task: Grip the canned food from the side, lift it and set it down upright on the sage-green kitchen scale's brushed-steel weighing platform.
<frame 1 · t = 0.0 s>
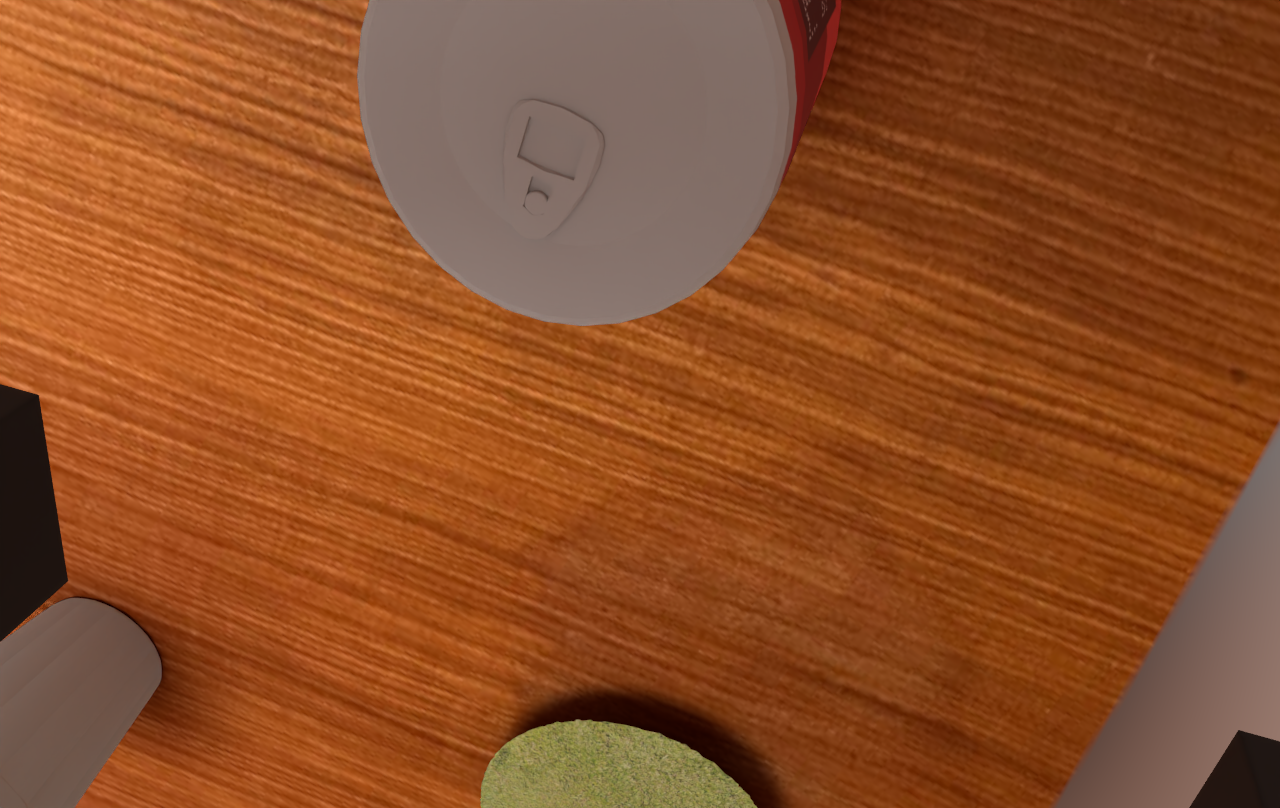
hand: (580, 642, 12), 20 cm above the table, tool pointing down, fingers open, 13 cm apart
green grinding disc: (635, 791, 42), on the table
cup: (107, 645, 46), on the table
canned food: (692, 6, 28), on the table
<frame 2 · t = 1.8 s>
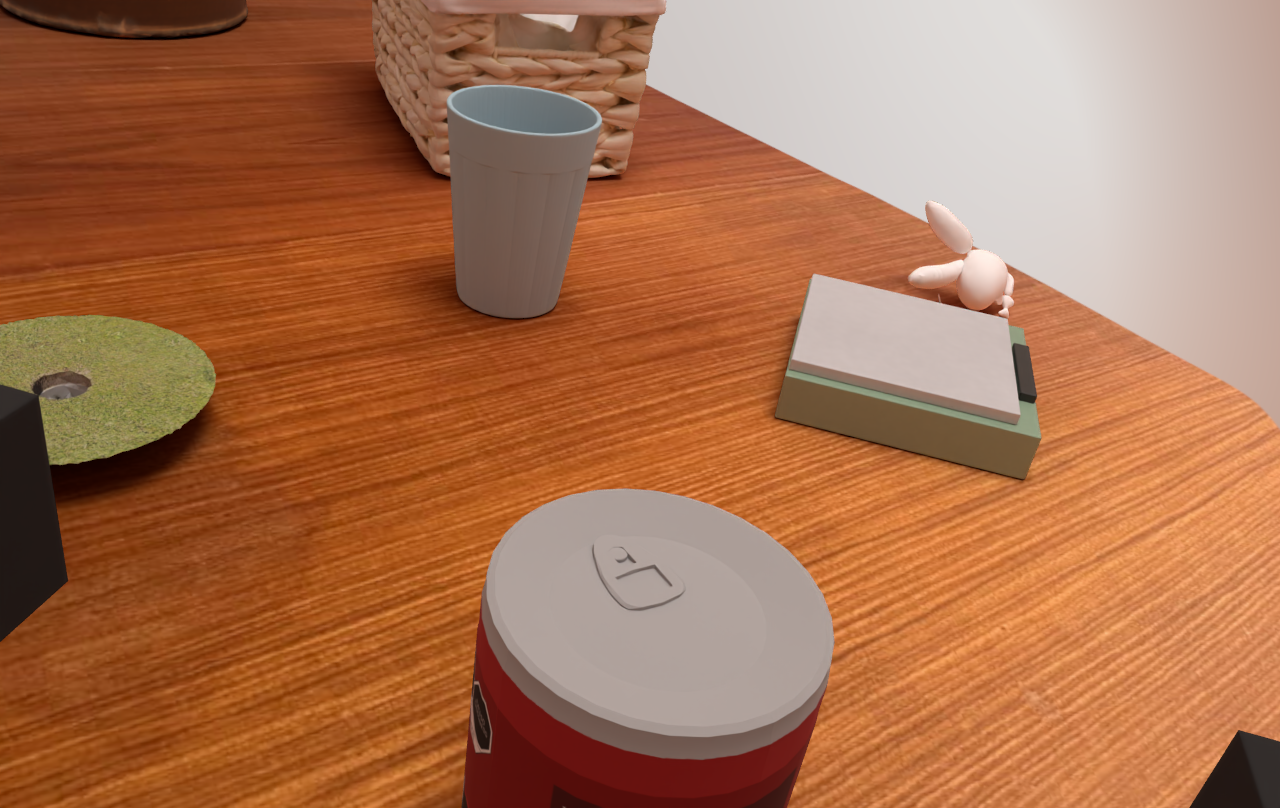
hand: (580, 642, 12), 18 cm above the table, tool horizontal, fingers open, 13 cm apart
green grinding disc: (69, 426, 44), on the table
cup: (507, 298, 59), on the table
rabbit figurine: (943, 305, 67), on the table
container: (127, 10, 96), on the table
scale: (901, 389, 57), on the table
basket: (489, 131, 83), on the table
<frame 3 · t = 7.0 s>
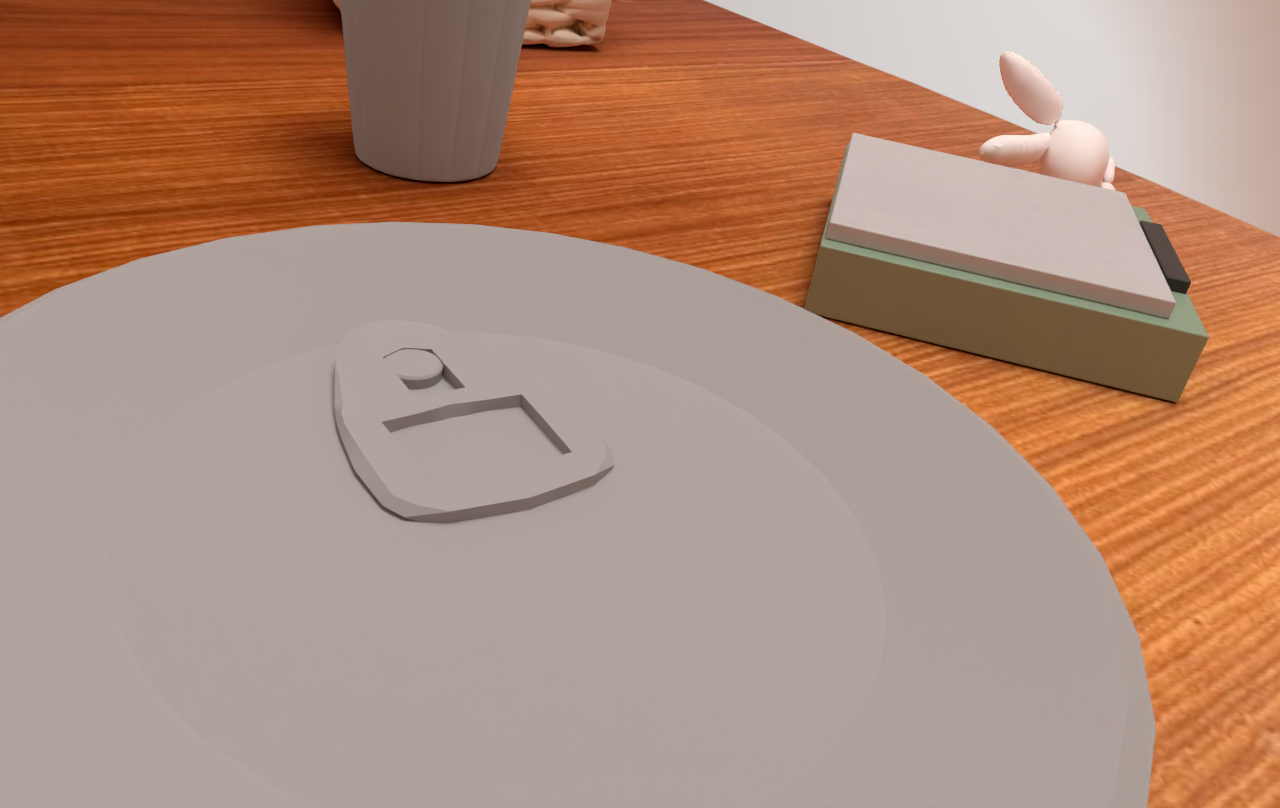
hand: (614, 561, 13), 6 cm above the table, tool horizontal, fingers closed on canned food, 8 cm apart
cup: (426, 161, 42), on the table
rabbit figurine: (1020, 196, 50), on the table
scale: (980, 285, 40), on the table
basket: (435, 0, 66), on the table
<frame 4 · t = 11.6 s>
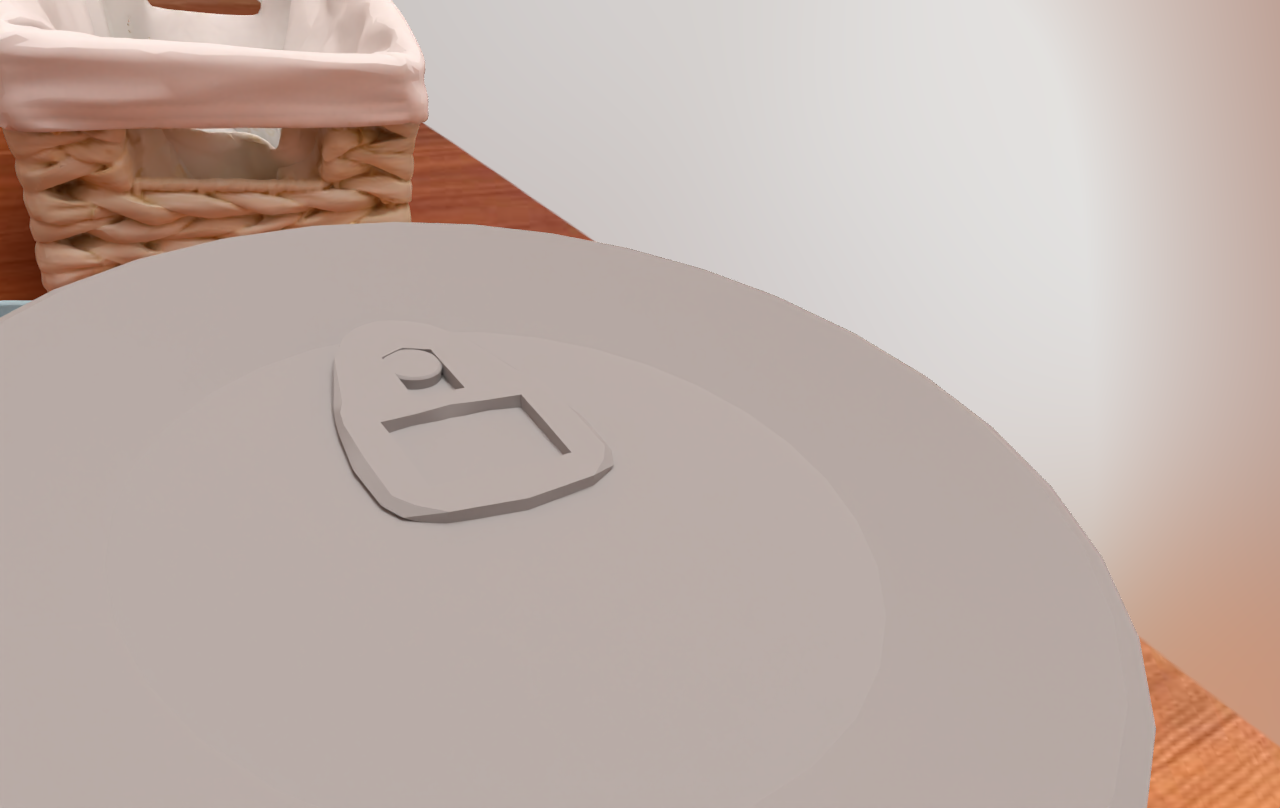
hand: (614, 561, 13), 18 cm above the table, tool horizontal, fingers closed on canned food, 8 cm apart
basket: (220, 269, 56), on the table
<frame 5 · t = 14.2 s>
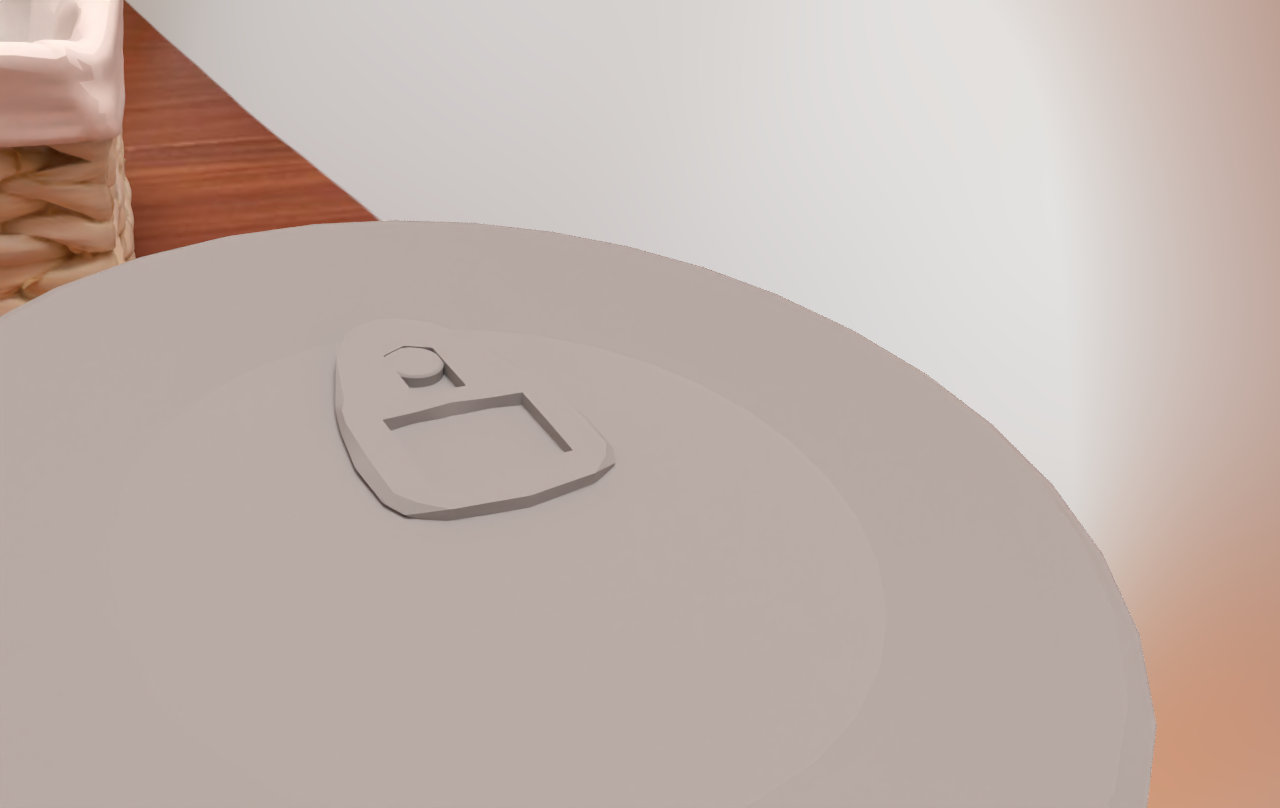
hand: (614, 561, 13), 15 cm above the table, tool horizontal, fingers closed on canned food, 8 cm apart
when the fingers open (9 cm above the table, at t = 16.2 s): canned food stays where it is, resting on scale.
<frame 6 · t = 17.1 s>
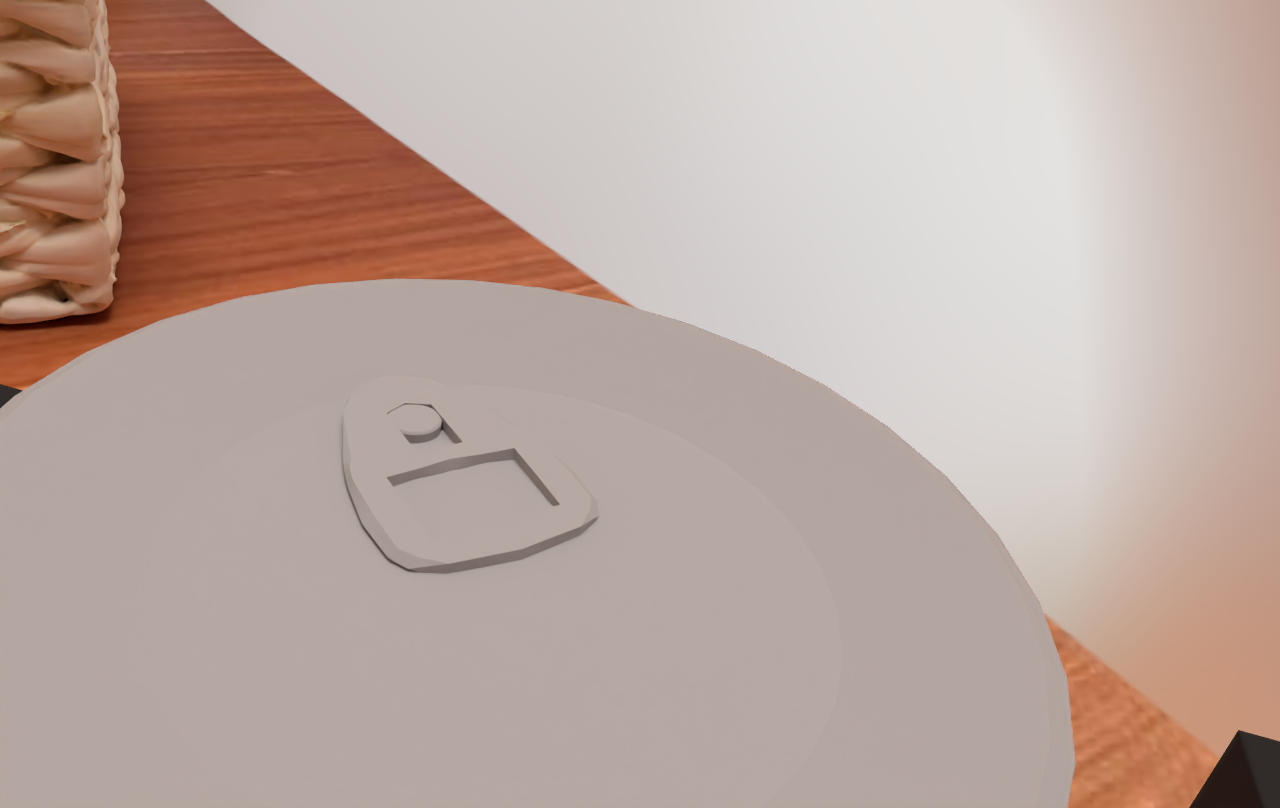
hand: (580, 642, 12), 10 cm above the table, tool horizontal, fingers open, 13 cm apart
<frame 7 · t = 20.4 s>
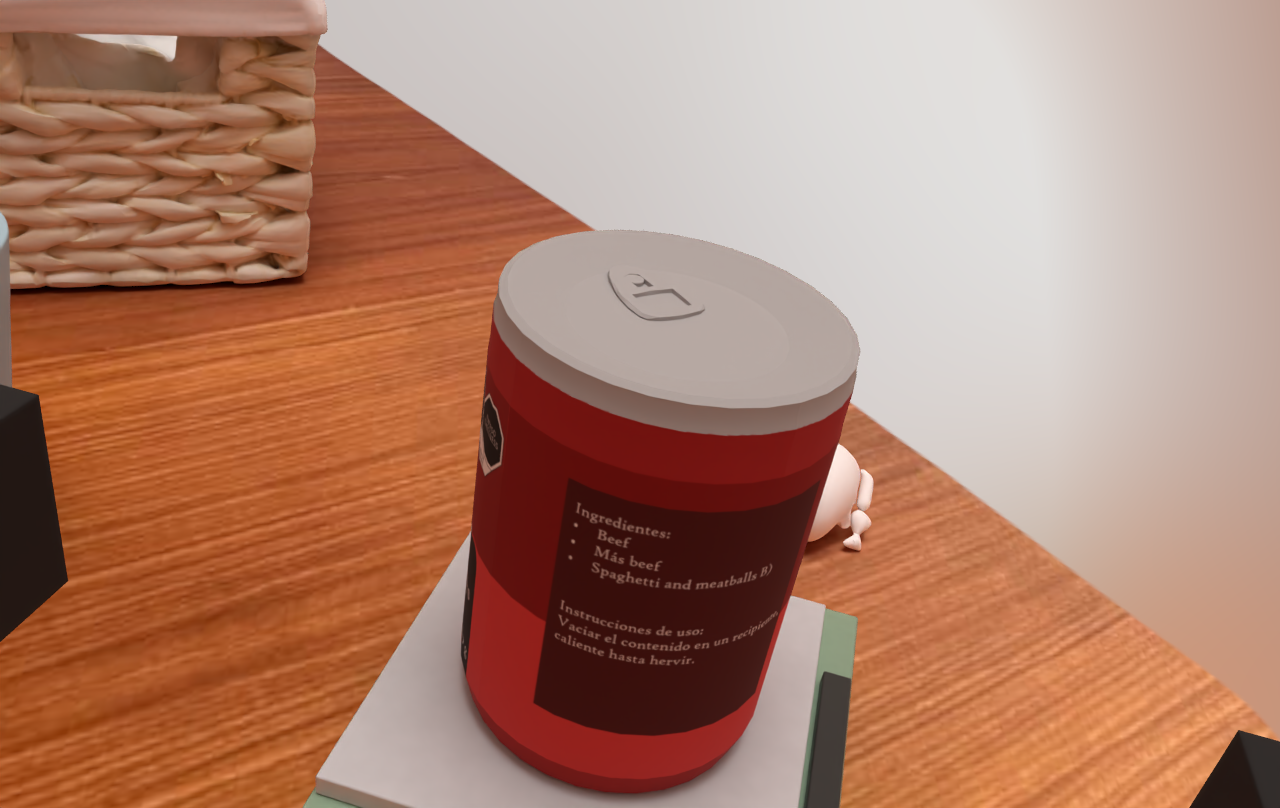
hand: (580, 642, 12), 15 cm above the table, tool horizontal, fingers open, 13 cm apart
canned food: (604, 683, 28), point 3 cm above the table, touching scale
rabbit figurine: (755, 524, 41), on the table
scale: (607, 761, 30), on the table
basket: (135, 201, 56), on the table
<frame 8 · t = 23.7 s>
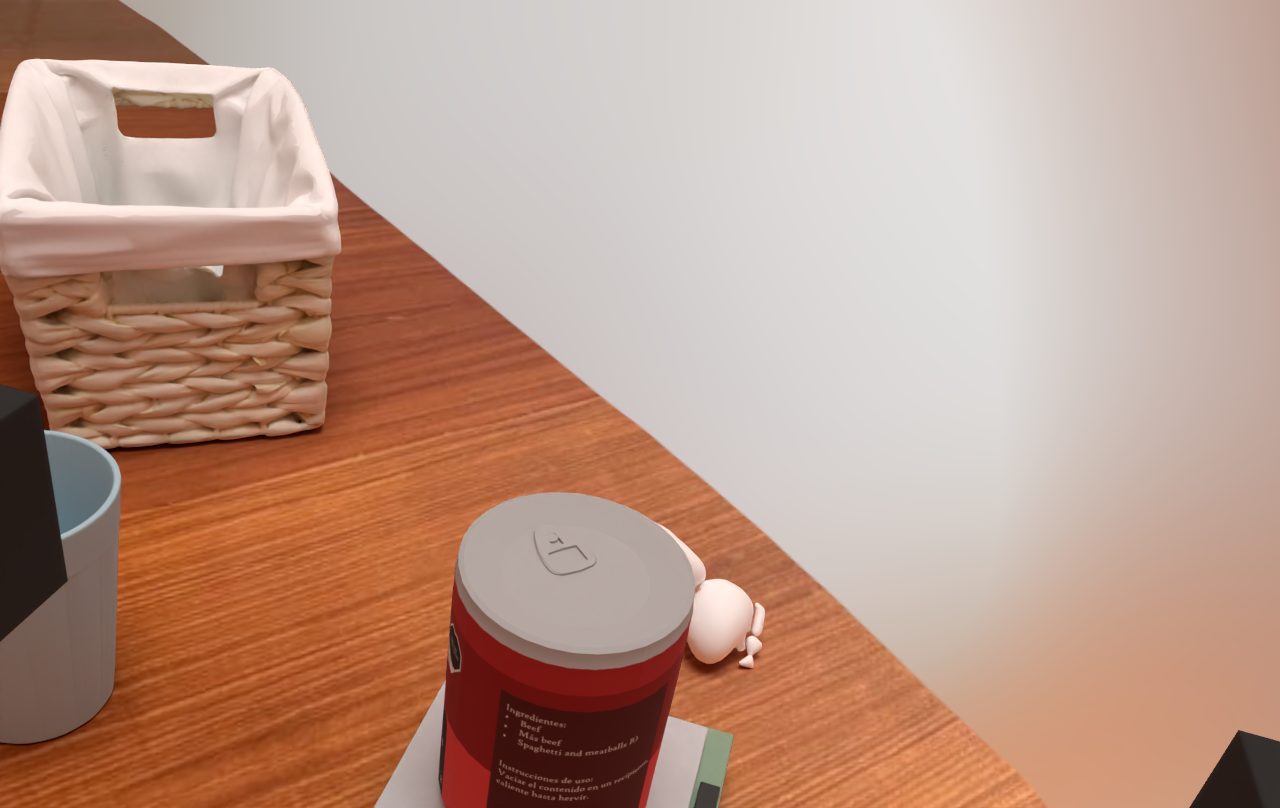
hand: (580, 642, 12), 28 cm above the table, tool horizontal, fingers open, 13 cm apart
cup: (41, 695, 44), on the table
canned food: (541, 794, 40), point 3 cm above the table, touching scale
rabbit figurine: (673, 646, 52), on the table
basket: (182, 355, 68), on the table
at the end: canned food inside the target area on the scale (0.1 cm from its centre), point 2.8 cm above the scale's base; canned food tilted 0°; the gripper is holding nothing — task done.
